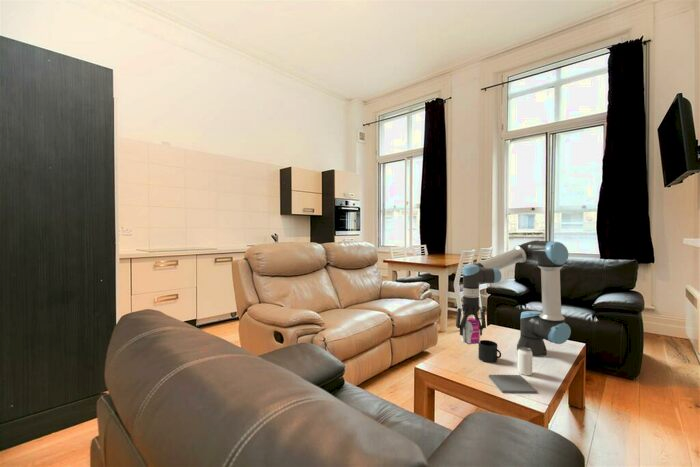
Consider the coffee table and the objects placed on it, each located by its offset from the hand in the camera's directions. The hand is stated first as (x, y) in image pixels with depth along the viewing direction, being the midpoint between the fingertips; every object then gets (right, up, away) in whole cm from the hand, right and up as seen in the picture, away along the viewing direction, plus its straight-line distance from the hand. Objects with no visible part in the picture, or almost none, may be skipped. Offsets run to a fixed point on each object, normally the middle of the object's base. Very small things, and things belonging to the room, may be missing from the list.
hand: (470, 341), depth 163 cm
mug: (+15, -15, +14) cm, 25 cm away
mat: (+14, -15, -13) cm, 25 cm away
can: (+26, -15, -2) cm, 30 cm away
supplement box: (0, -1, 0) cm, 1 cm away
